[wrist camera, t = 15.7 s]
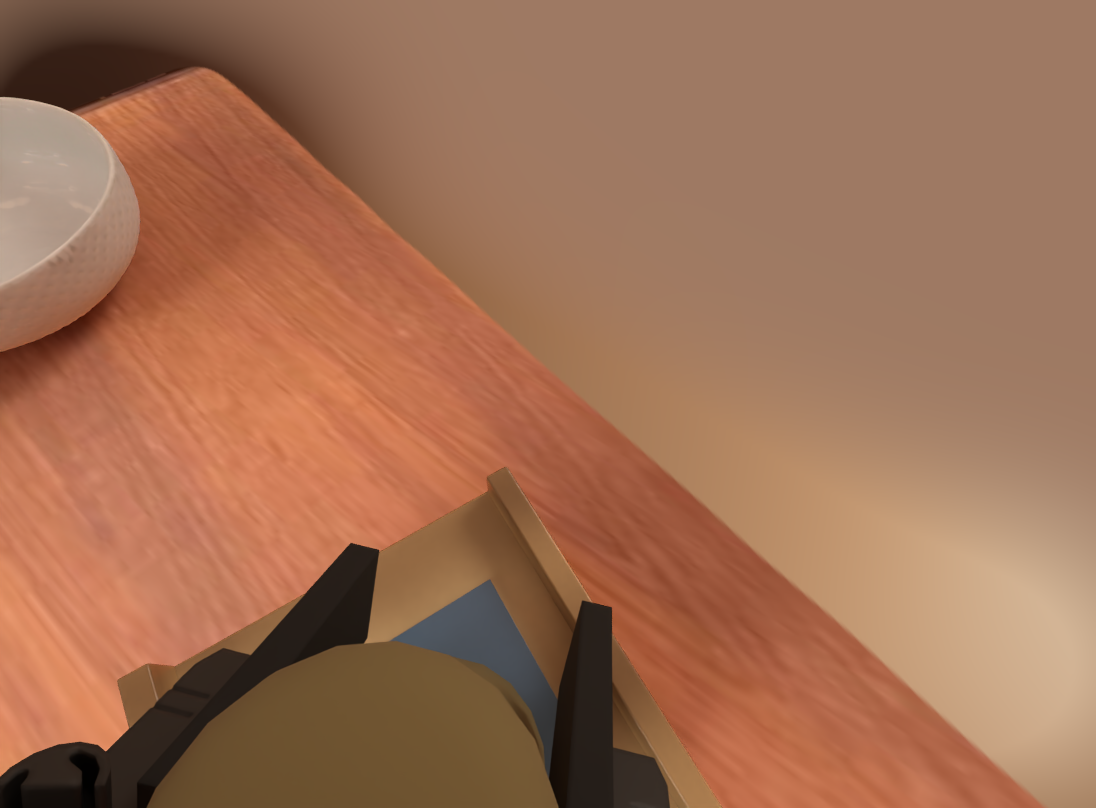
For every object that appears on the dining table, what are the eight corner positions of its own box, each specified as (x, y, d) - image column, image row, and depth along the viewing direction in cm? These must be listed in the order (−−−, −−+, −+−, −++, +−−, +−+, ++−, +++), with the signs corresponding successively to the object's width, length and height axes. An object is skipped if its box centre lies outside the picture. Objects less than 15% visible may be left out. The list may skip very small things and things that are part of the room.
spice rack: (277, 689, 25) (115, 680, 14) (505, 550, 29) (506, 464, 18) (401, 1027, 20) (290, 1375, 10) (656, 807, 24) (775, 890, 13)
